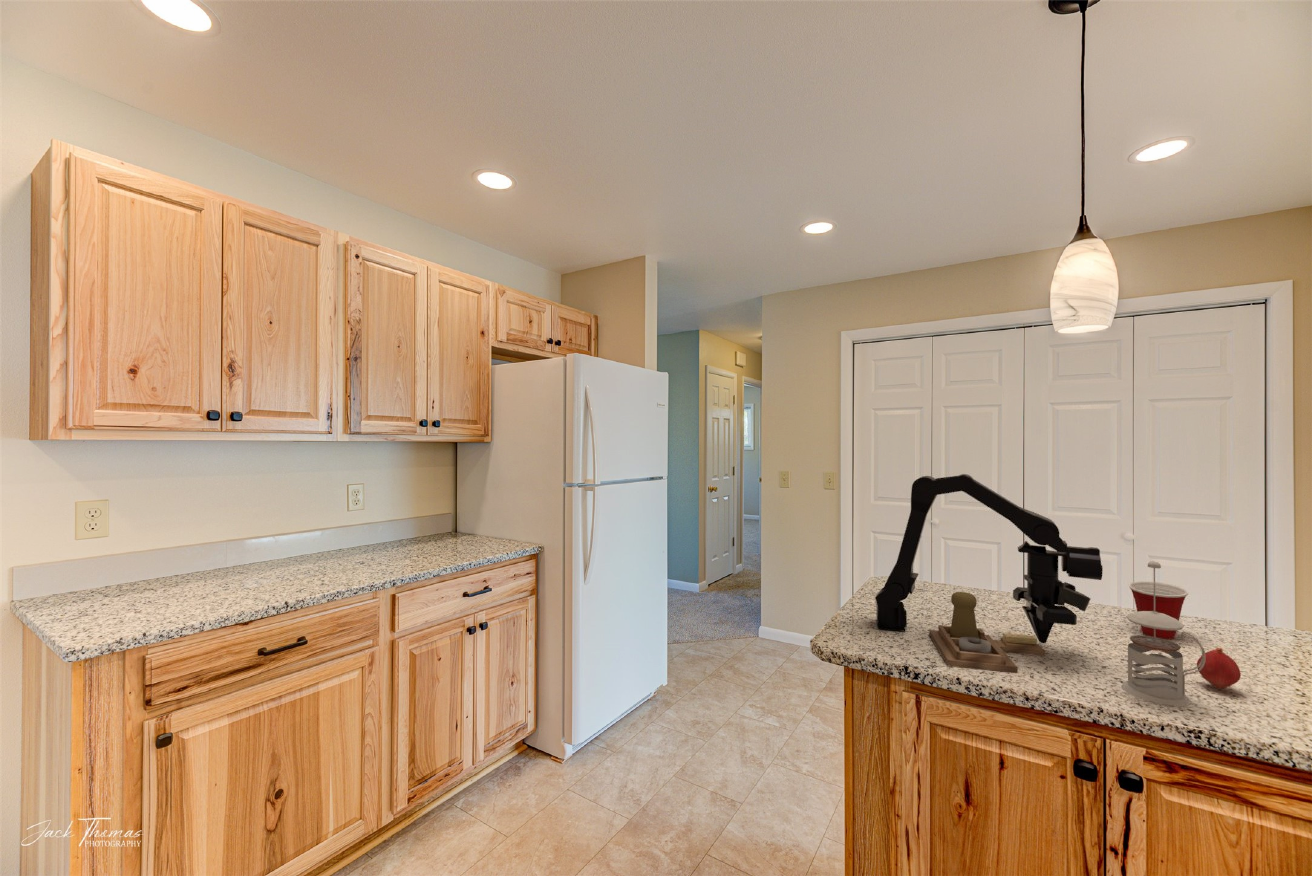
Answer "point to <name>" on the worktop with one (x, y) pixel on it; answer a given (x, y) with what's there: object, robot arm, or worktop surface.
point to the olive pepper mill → (963, 615)
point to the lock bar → (1019, 639)
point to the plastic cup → (1158, 603)
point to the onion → (1219, 669)
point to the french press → (1157, 659)
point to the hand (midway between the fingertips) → (1042, 642)
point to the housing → (979, 650)
